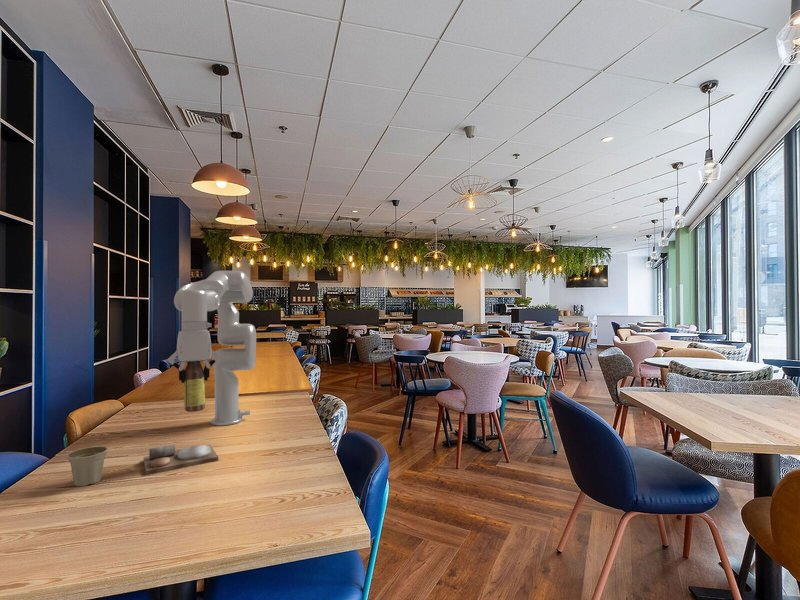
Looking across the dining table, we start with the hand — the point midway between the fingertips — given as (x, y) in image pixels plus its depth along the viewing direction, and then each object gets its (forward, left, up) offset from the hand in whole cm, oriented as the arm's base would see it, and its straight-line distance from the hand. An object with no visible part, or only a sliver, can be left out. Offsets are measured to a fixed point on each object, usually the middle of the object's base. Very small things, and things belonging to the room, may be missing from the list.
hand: (194, 380), depth 136 cm
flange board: (+4, 0, -25) cm, 26 cm away
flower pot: (+28, +3, -26) cm, 38 cm away
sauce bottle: (0, 0, -10) cm, 10 cm away
